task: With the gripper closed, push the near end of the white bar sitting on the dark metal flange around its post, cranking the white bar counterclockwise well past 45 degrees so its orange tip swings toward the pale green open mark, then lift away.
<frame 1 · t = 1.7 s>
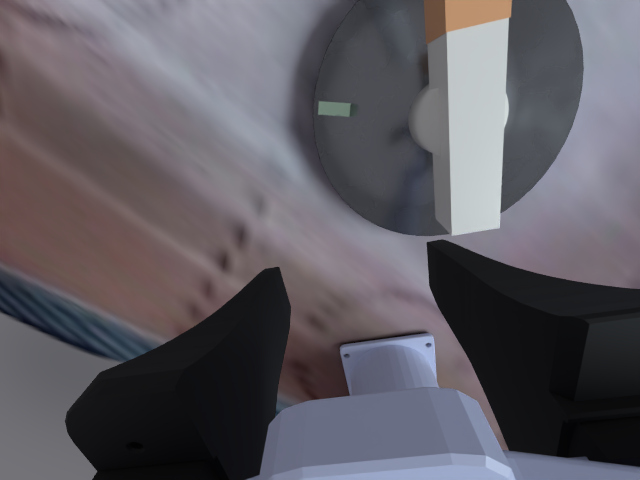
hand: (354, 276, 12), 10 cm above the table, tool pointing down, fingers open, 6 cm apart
white bar: (458, 117, 15), point 4 cm above the table, hinge at 0.0°
flange: (434, 115, 19), on the table
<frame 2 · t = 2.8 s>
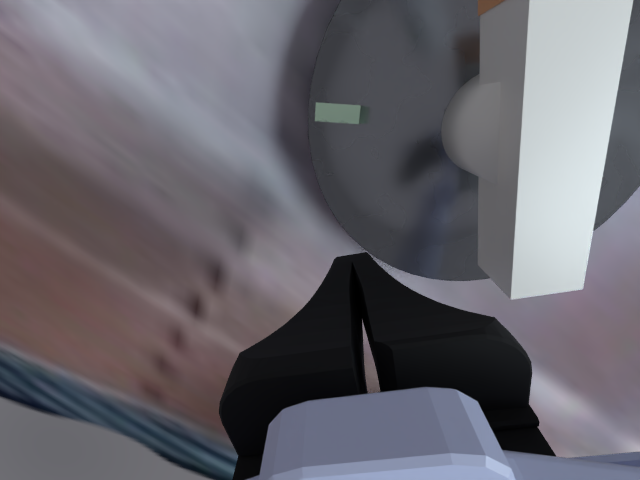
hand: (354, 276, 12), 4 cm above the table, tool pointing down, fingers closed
white bar: (522, 125, 10), point 4 cm above the table, hinge at 0.0°
flange: (474, 122, 14), on the table
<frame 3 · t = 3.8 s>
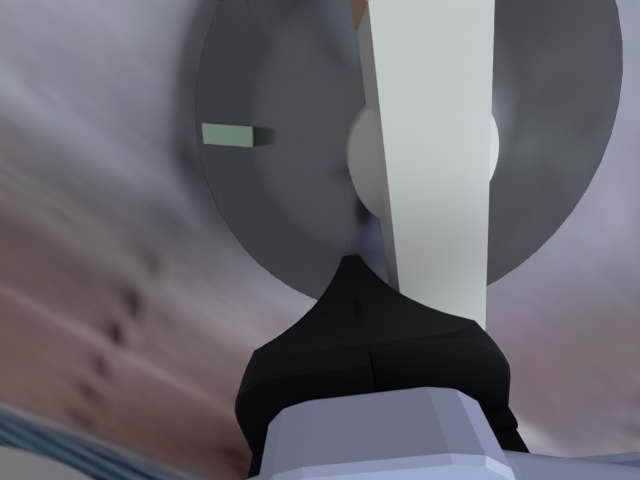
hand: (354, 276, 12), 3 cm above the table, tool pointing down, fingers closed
white bar: (415, 155, 9), point 4 cm above the table, hinge at 0.1°, touching gripper
flange: (391, 142, 12), on the table
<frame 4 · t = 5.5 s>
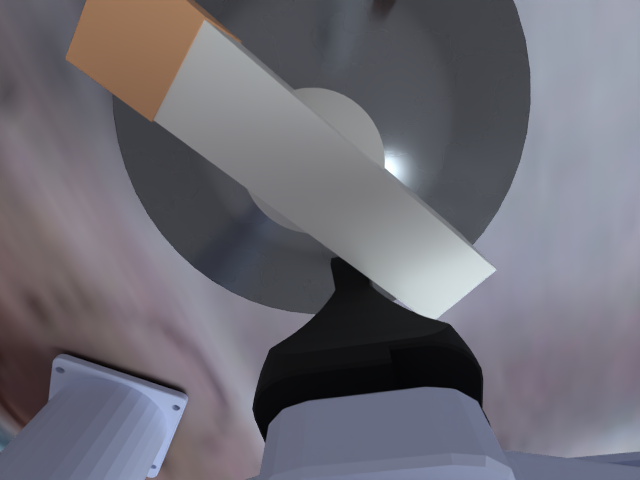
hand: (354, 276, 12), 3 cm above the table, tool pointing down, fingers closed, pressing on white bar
white bar: (312, 161, 9), point 4 cm above the table, hinge at 76.6°, touching gripper
flange: (318, 146, 13), on the table
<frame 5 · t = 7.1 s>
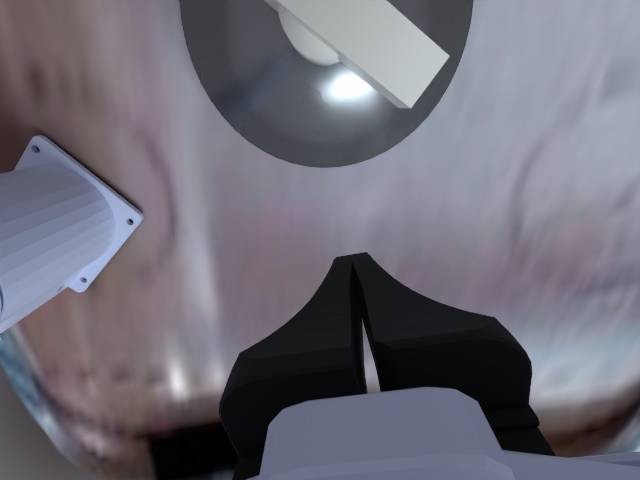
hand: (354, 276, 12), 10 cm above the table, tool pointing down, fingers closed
white bar: (323, 8, 14), point 4 cm above the table, hinge at 101.2°
flange: (325, 28, 17), on the table
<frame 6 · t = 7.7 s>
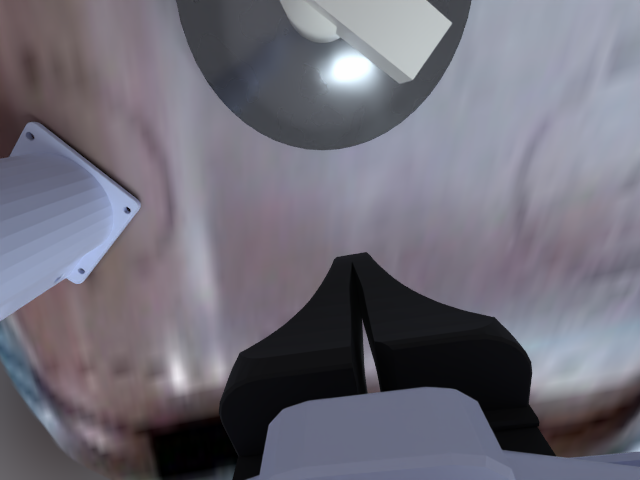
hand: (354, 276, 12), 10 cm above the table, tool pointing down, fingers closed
flange: (323, 5, 17), on the table
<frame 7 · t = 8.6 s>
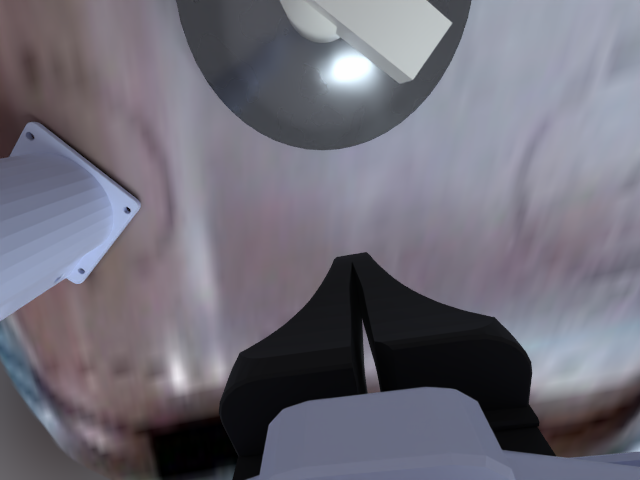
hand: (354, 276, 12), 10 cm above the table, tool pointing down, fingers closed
flange: (323, 5, 17), on the table
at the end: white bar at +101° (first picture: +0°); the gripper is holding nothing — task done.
